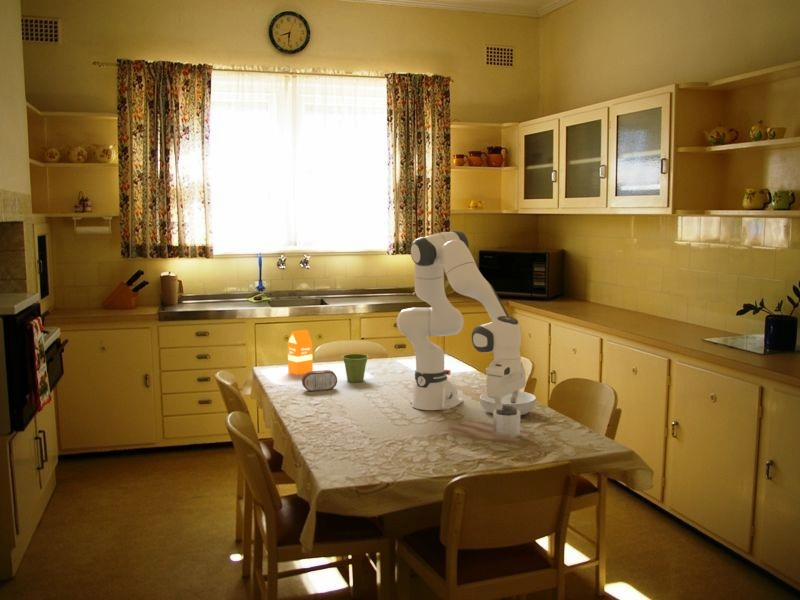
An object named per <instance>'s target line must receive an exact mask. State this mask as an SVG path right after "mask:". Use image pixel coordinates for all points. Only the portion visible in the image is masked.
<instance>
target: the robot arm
mask: <svg viewBox="0 0 800 600" xmlns="http://www.w3.org/2000/svg"><path fill="white" fill-rule="evenodd" d="M469 248H470V243H469V239H468V237H467V236H466V235H465V233H464V232H462V231H459V230H451V231H442V232H437V233H434V234H430V235H426V236H420V237H418V238H416V239H414V240H413V241H412V243H411V245H410V251H409V252H410V256H411V259H412V260H413V262H414V294H415V295H416V297H417V298H419V299H420V300H421V301H423V302H426V303H427V304H428V305H429V306H430V307H409V308H405V309H401V311H400V312H399V313H398V314H397V317H396V326H397V329H398V331H399V332H400V333H401V334H402V335H404V336H405V337H406V338H407V339H408V340H409V341H410V343H411V345H412V347H413V350H414V353H415V354H414V356H415V371H414V380H415V382H413V389H412V399H411V400H410V403H411V407H413V408H415V409H417V410H422V411H442V410H444V411H447V410H449V409H451V408H454V407H457V406H458V405H461V403H463V402H464V398H462V397H461V396H458V387H456V385H455V384H454V383H452V381H450V380H449V379H448V376H450V375H451V373H452V370H450V369H445V352H444V350H443V347H440V346H439V345H438V344H435V343H433V342H432V341H431V340H430V339H429V337H435V336H436V337H448V336H454V335H458V334H459V333H460V332H461V331H462V330H463V328H464V323H465V321H464V316H463V314H462V313H461V311H460V310H459V309H458V308H456V307H455V306H453V304H452V303H451V302H450V301H449V299H448V297H447V295H446V289H445V281H444V280H445V278H444V277H445V276H444V273H445V275H446V277H447V281H448V283H449V285H450V287H451V289H452V290H453V291H454V292H456V293H458V294H459V295H462V296H465V297H469V298H472V299H474V300H476V301H478V302H479V303H481V304H482V306H483V307H484V309H485V311H486V312H487V314H488V315H489V316H488V317H489V318H490V319H491V321H490V322H488V323H484V324H480V325H477V326H476V327H474V329H473V330H472V332H471V338H470V339H471V343H472V346H473V348H474V349H475V350H476V351H477V352H479V353H485V354H486V353H493V360H492V362H491V363H490V364H489V365H488V366H487V367H486V368H485V372H486V375H487V376H486V392H487V395H488V397H489V398H494V400H495V403H496V409H498V410H501V409H503V404H502V402H501V400H502V397H503V396H505V395H507V394H510V393H512V392H513V393H512V397H511V398H510V400H511V401H510V402H511V403H513V404H514V403H517V397H518V394H519V391H520V390H521V389H524V388H525V387H526V383H527V381H526V379H527V377H526V370H525V368H524V364H523V363H522V355H521V345H522V331H521V325H520V322H519V320H518V319H517V318H515V317H512V316H510V315H509V313H508V312H507V310H506V308H505V306H504V304H503V302H502V301H501V299H500V297H499V295H498V293H497V292H496V290H495V289H494V287H493V285H492V284H491V283H490V282H489V281H488V280H487V279H486V278H485V277H484V276H483V274H482V273H481V271H480V270H479V267H478V266H477V264H476V261H475V259H474V257H473V254H472V252H471V251H470V249H469ZM447 375H448V376H447Z"/></svg>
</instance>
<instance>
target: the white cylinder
mask: <svg viewBox="0 0 800 600" xmlns="http://www.w3.org/2000/svg"><path fill="white" fill-rule="evenodd" d="M492 424H493V436H495V437H496V438H501V439H515V438H518V437H520V430H521V415H520V411H519V410H517V413H515V414H510V415H505V414H499V413H497V412H496V409H495V410H493V414H492Z"/></svg>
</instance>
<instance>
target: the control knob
mask: <svg viewBox="0 0 800 600" xmlns="http://www.w3.org/2000/svg"><path fill="white" fill-rule="evenodd" d="M496 412H497V413H499V414H505V415H510V414H515V413H517V408H515V407H513V406H510V405H504V404H503V409H501V410H498V409H496Z"/></svg>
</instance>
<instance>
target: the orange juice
mask: <svg viewBox="0 0 800 600" xmlns="http://www.w3.org/2000/svg"><path fill="white" fill-rule="evenodd" d="M287 362H288V363H287V365H288V366H287V367H288V369H287V370H288V373H289V372H290V373H289V374H293V373H294V375H297V374H299V375H304V374H306V373H307V372H310V371H314V370H313V342H312V339H311V336H310V333H309V331H308V329H301V330H295V331H291V334H290V336H289V339H288V340H287ZM303 373H304V374H303Z"/></svg>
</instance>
